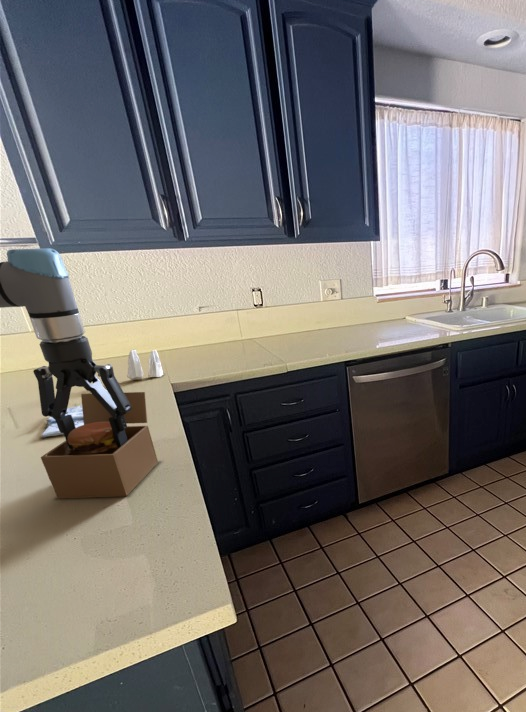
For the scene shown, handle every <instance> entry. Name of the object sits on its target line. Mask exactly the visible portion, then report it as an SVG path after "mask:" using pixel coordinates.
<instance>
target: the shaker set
mask: <svg viewBox="0 0 526 712" xmlns="http://www.w3.org/2000/svg"><path fill="white" fill-rule="evenodd" d="M137 352H138V351H137V350H136V349H133V350H130V351H129V353H128V357H127V358H128V359H127V375H126V376H127V378H128V379H130V380H131V381H132V380H133V381H135V380H140V379H142V377H143V376H144V371H143V368H142V365H141V364H142V363H141V361H140V357H139V355H138V353H137ZM162 367H163V366H162V364H161V359H160V356H159V353H158V351H157V350H156V349H154V350H152V351H151V352H150V354H149V360H148V378H159V377H160V378H161V377H162V376H163V375H164V371H163V368H162Z"/></svg>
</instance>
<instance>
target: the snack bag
mask: <svg viewBox="0 0 526 712" xmlns="http://www.w3.org/2000/svg"><path fill="white" fill-rule="evenodd" d="M67 412H68V413H67ZM67 412H66V413H67V414H65V416H66V415H71V416H72V418H73V421H74V424H75V427H76V428H77V427H79V426H82V425H84V420H83V409H82V405H78V406H77V405H76V406H73V407H67ZM46 422H47V425H46V427H45V428H46V429H45V430H44V432H42V433H41V435H40V436H41V438H43V439H44V438H48V437H55V436H56V437H57V436H62V435H63V436H64V433H61V432H60V431H59V428H58V426H57V423H56V420H55V419H54V418H53V417H50V416H48V418H47V419H46Z"/></svg>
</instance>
